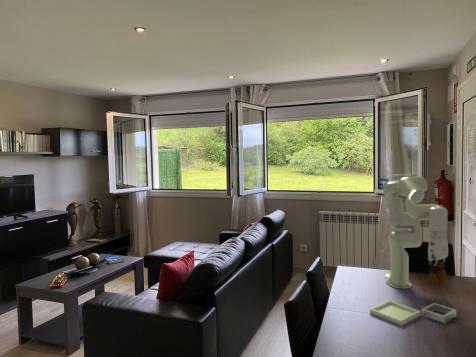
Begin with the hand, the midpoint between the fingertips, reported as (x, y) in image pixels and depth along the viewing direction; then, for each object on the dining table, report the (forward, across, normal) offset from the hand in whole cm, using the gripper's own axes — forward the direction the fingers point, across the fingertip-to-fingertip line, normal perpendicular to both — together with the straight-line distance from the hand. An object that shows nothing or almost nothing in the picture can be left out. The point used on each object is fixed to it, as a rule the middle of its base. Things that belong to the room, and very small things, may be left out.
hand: (437, 271), depth 169 cm
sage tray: (+21, -14, +12) cm, 29 cm away
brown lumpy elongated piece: (+6, 0, 0) cm, 6 cm away
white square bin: (+21, 0, -1) cm, 21 cm away
